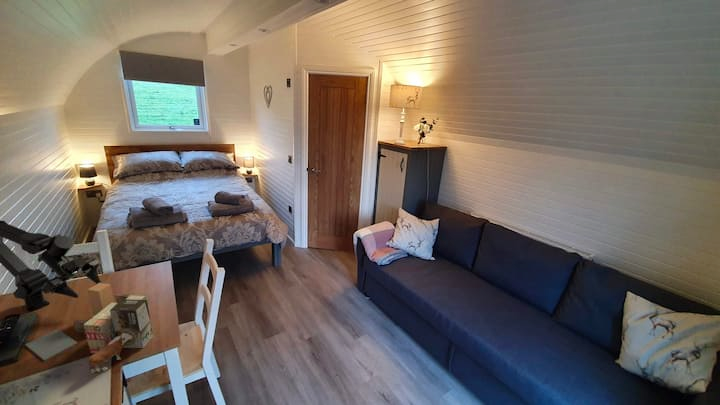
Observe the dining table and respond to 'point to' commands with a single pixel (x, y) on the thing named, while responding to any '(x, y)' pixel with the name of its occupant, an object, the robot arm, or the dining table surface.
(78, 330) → the beige u-shaped block
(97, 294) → the tan block
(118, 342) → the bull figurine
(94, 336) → the printed cardboard box
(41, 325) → the dining table surface
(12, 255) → the robot arm
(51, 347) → the slate mat
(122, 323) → the coffee box
